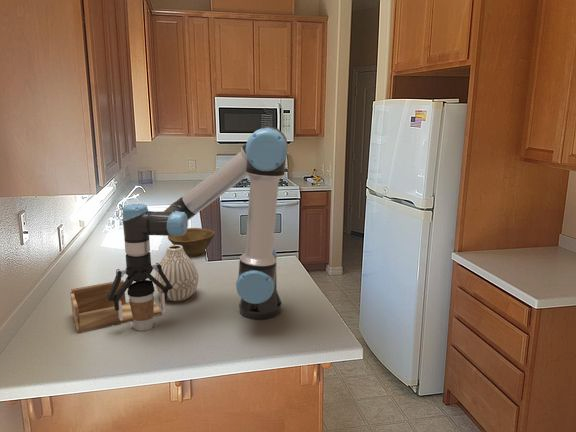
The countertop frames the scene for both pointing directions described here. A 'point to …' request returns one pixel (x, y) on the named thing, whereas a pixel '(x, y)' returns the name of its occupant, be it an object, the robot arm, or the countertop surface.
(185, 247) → the bowl
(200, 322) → the countertop surface
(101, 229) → the countertop surface
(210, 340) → the countertop surface
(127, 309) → the shelf
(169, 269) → the vase
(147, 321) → the coffee cup
